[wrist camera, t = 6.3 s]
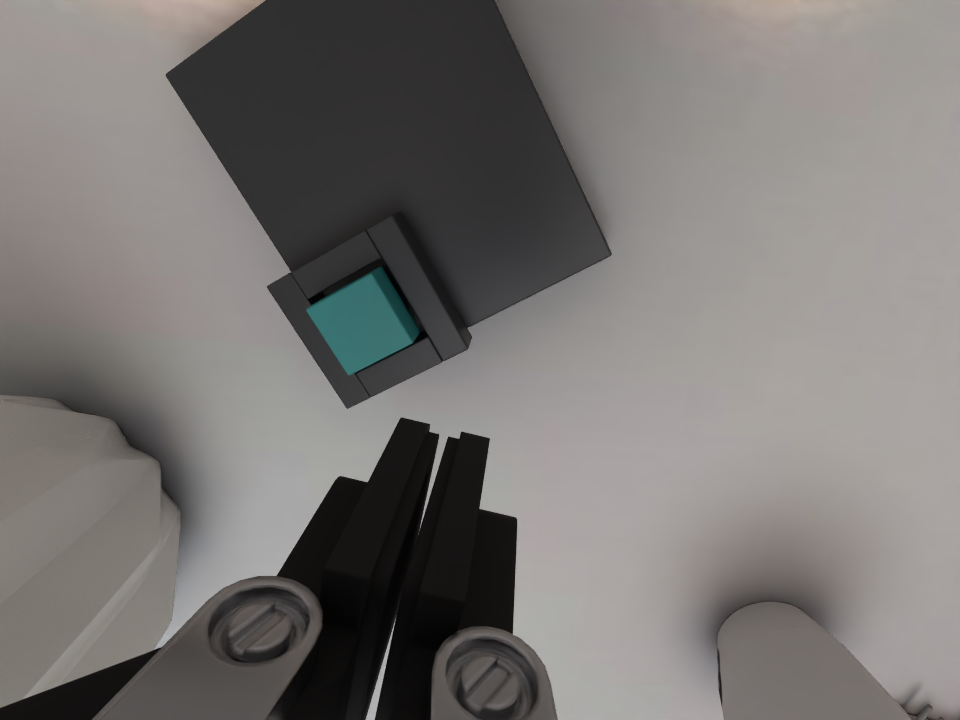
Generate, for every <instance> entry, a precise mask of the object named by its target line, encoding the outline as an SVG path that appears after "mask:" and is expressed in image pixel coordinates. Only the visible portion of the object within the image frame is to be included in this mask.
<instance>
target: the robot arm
mask: <svg viewBox="0 0 960 720" xmlns="http://www.w3.org/2000/svg"><path fill="white" fill-rule="evenodd" d="M429 429H430V424H427V423H423V422H418V421H414V420H410V419H406V418H401V419H400V420H399V422H398V424H397V426H396V428H395V430H394V432H393V434H392V436H391V438H390V440H389V442H388V444H387V446H386V448H385V450H384V452H383V454H382V456H381V457H380V459H379V461H378V463H377V465H376V467H375V469H374V471H373V473H372V475H371V477H370V479H369V481H368V482H363V481H359V480H355V479H351V478H346V477H342V476H340V477H338V478H337V479H336V480H335V482H334V483H333V485H332V487H331V488H330V490H329V491H328V493H327V495H326V496H325V498H324V500H323V501H322V503H321V504H320V506H319V508H318V509H317V511H316V513H315V514H314V516H313V517H312V519H311V521H310V522H309V524H308V526H307V527H306V529H305V531H304V532H303V534H302V535H301V537H300V539H299V540H298V542H297V544H296V545H295V547H294V548H293V550H292V552H291V553H290V555H289V557H288V558H287V560H286V562H285V563H284V565H283V566H282V568H281V570H280V571H279V573H278V575H277V576H257V577H253V578H249V579H244V580H240V581H238V582H236V583H234V584H231V585H229V586H227V587H225V588H223V589H222V590H220V591H219V592H218V593H216V594H215V595H214V596H213V597H211V598H210V599H209V600H208V601H207V602H206V603H205V604H204V605H203V606H202V607H201V608H200V609H199V610H198V611H197V612H196V613H195V614H194V615H193V616H192V617H191V618H190V619H189V620H188V621H187V622H186V623H185V624H184V625H183V626H182V627H181V628H180V629H179V630H178V632H177V633H176V634H175V635H174V636H173V637H172V638H171V639H170V640H169V641H168V642H167V643H166V644H165V645H164V646H163V647H161V648H158V649H155V650H153V651H150V652H147V653H145V654H142V655H139V656H137V657H134V658H131V659H129V660H126V661H124V662H121V663H118V664H116V665H113V666H110V667H108V668H105V669H102V670H100V671H97V672H94V673H92V674H89V675H86V676H84V677H81V678H78V679H76V680H73V681H70V682H68V683H65V684H62V685H60V686H57V687H54V688H52V689H49V690H46V691H44V692H41V693H38V694H36V695H33V696H30V697H28V698H25V699H22V700H20V701H17V702H14V703H12V704H9V705H6V706H4V707H1V708H0V720H365V719H366V716H367V713H368V709H369V706H370V702H371V699H372V696H373V692H374V689H375V686H376V682H377V679H378V676H379V672H380V669H381V666H382V662H383V659H384V655H385V652H386V649H387V645H388V642H389V639H390V635H391V632H392V629H393V625H394V622H395V626H394V631H393V635H392V640H391V645H390V650H389V655H388V659H387V664H386V669H385V674H384V679H383V683H382V688H381V693H380V698H379V702H378V707H377V712H376V717H375V720H558V719H557V714H556V709H555V704H554V698H553V693H552V688H551V683H550V680H549V677H548V674H547V671H546V668H545V665H544V664H543V662H542V661H541V660H540V658H539V657H538V655H537V654H536V652H535V651H534V650H533V649H532V648H531V647H530V646H528V645H527V644H526V643H525V642H524V641H523V640H522V639H520V638H518V637H516V636H515V635H513V614H514V589H515V565H516V541H517V519H516V518H515V517H511V516H507V515H503V514H499V513H494V512H490V511H486V510H482V509H479V506H480V500H481V493H482V487H483V480H484V473H485V467H486V460H487V454H488V447H489V440H490V438H486V437H482V436H478V435H474V434H469V433H465V432H461V435H460V439H457V438H452V437H448V439H447V442H446V446H445V449H444V452H443V455H442V459H441V462H440V465H439V469H438V472H437V475H436V479H435V482H434V485H433V488H432V492H431V495H430V498H429V502H428V505H427V508H426V512H425V515H424V518H423V521H422V525H421V528H420V524H421V520H422V515H423V510H424V506H425V501H426V496H427V492H428V487H429V482H430V477H431V473H432V468H433V463H434V459H435V454H436V449H437V445H438V440H439V434H435V433H431V432H429ZM419 529H420V531H419ZM418 534H419V535H418ZM396 615H397V616H396ZM395 619H396V621H395Z"/></svg>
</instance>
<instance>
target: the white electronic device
mask: <svg viewBox="0 0 960 720" xmlns="http://www.w3.org/2000/svg"><path fill="white" fill-rule="evenodd" d="M932 709H933V707H932V706H931V705H927V706H926V707H925V708H924V709H923V710H922V712H921V713H920V714H919V715H918V716H913V715H909V714H908V716H909V717H910V718H911V719H912V720H928V719H925V718H926V717H927V716H928V715H929V714H930V712H931V711H932ZM938 720H944V719H943V718H942V717H940V718H938Z"/></svg>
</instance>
